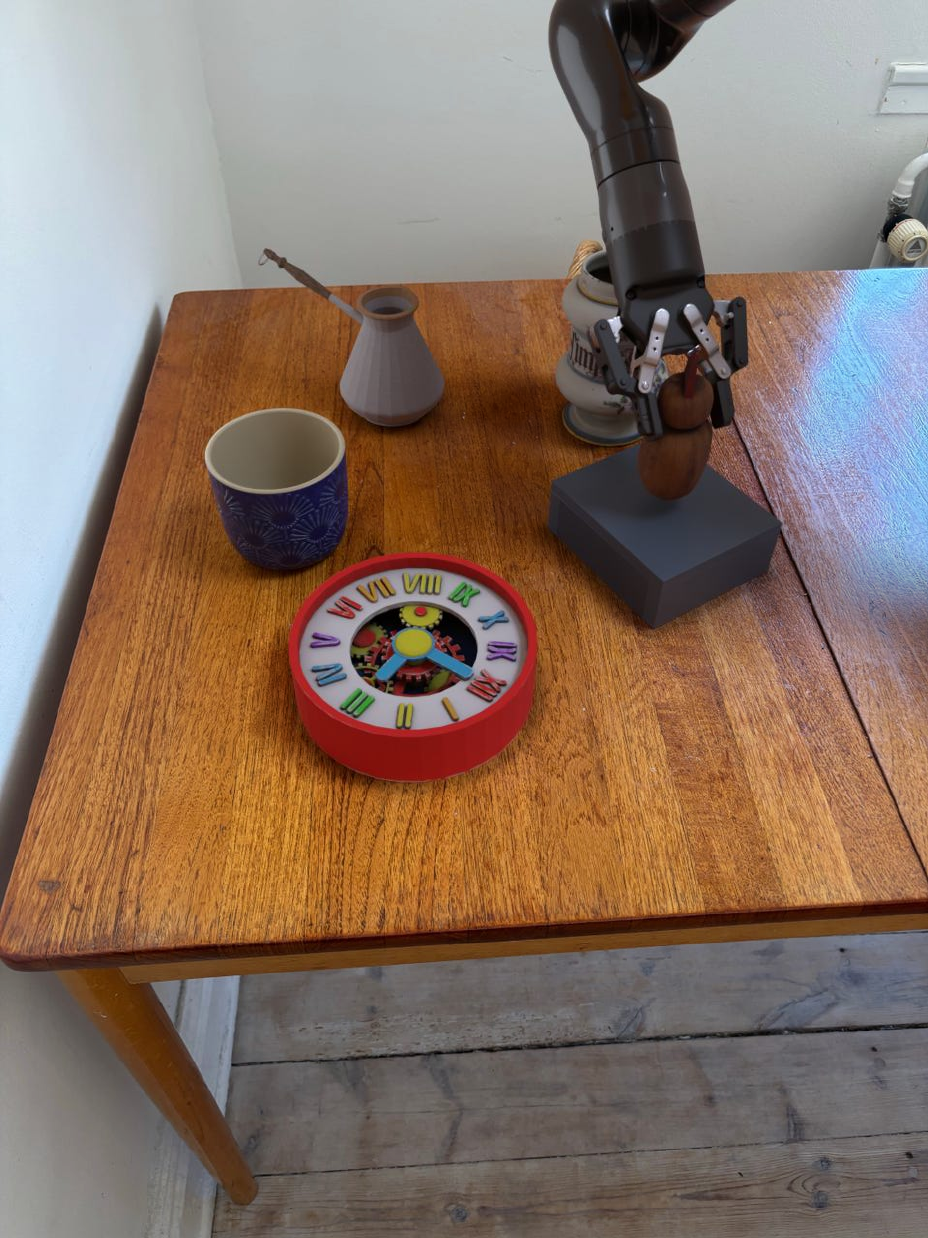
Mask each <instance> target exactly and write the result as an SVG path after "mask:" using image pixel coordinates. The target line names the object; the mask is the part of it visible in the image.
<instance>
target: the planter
mask: <svg viewBox="0 0 928 1238" xmlns="http://www.w3.org/2000/svg"><path fill="white" fill-rule="evenodd" d="M346 450H347V449H346V441H345V437H344V435H343V433H342V431H341V430H340V429H339V427H338V426H337V425H336V424H335V423H334V422H332V420H330V419H328V418H326V417H325V416H323V415H321V414H318V413H316V412H313V411H309V410H306V409H299V408H290V407H277V408H268V409H267V408H265V409H261V410H256V411H253V412H249V413H246V414H244V415H240V416H239V417H236V418H234V419H232V420H230V421H228V422H227V423H226V424H224V425H223V426H221V427H220V428H219V429H218V430H216V432H215V433H214V434H213V435H212V436H211V438H210V439H209V440H208V443H207V445H206V447H205V450H204V451H205V452H204V462H205V466H206V469H207V474H208V477H209V481H210V485H211V488H212V492H213V496H214V500H215V502H216V507H217V510H218V513H219V516H220V519H221V522H222V525H223V528H224V531H225V533H226V535H227V538H228V540H229V542H230V543H231V545H232V546H233V548H234V549H235V551H236V552H237V553H238V554H239V555H240V556H241V557H242V558H243V559H245V560H246V561H248V562H250V563H252V564H254V565H255V566H258V567H261V568H265V569H269V570H279V571H288V570H297V569H302V568H306V567H309V566H311V565H313V564H316V563H318V562H320V561H322V560H323V559H325V558H326V557H328V556H329V555H331V553H333V552H334V551H335V550H336V548H338V546H339V545H340V544H341V542H342V540H343V538H344V536H345V533H346V529H347V524H348V519H349V516H348V515H349V485H348V484H349V482H348V467H347V452H346Z"/></svg>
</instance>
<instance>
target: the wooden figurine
mask: <svg viewBox="0 0 928 1238" xmlns="http://www.w3.org/2000/svg"><path fill="white" fill-rule="evenodd" d="M698 358H699V353H697V348H695V349H694V352H693V353H691V355H689V357H688V359H687V361H686V364H685V365H684V370H683V371H680V372H676V373H673V374H671V375H670V377H668V378H667V379H666V380H665V381H664V382H663V384H662V386H661V388H660V390H659V393H658V397H657V405H658V410H659V415H660V420H661V425H662V430H663V437H662V438H661V439H659V440H656V441H651V442H647V441H646V440H645V436H643V438H641V441H640V443H641V445H640V449H639V453H638V459H637V466H638V473H639V477H640V480H641V482H642V485H643V486H644V488H645V489H646V491H647V492H649V493H650V494H652V495H653V496H655V497H657V498H659V499H662V500H675V499H680V498H683V497H684V496H686V495H688V494H689V493H690V492H691V491H692V490H693V489H694V488H695V486H696V485H697V483H698V481H699V479H700V477H701V475H702V473H703V471H704V469H705V467H706V464H708V462H709V459H710V454H711V450H712V442H713V426H712V422H711V420H710V419H709V418H710V412H711V409H712V405H713V400H714V396H713V389H712V386H711V384H710V382H709V381H708V380H707V379H706V378H704V377H703V376H702V375H701V374H700V373H697V372H698V369H697V365H698Z"/></svg>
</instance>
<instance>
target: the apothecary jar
mask: <svg viewBox="0 0 928 1238" xmlns="http://www.w3.org/2000/svg"><path fill="white" fill-rule="evenodd" d="M561 309H562V312H563V314H564V316H565V318H566V319H567V322H569V323H570V324H571V330H570V339H569V341H570V342H569V348H568V349H567V350H566V351H565V352H564V353H563V354H562V355H561V357H560V358H559V360H558V361H557V364H556V367H555V373H554V374H555V382H556V384H557V388H558V390H559V391H560V393H561V394H562V396H563V397H564V398H565V399H566V400H567V401H568V402H567V404H566V405H565V406H564V408H563V410H562V414H561V416H562V418H561V419H562V423H563V425H564V427H565V429H566V430H567V432H569V434H571V435H572V436H573V437H575V438H576V439H578V440H580V441H582V442H585V443H587V444H591V445H594V446H600V447H621V446H627V445H631V444H634V443H636V442H637V441H640V440H642V438H643V436H640V434H639V432H638V430H637V425H636V419H635V415H634V410H633V405H632V402H631V400H630V398H628V397H627V396H623V395H618V394H616V395H611V394H609V393H608V392H607V390H606V387H605V384H604V381H603V379H602V376H601V373H600V371H599V368H598V365H597V362H596V360H595V357H594V354H593V352H592V349H591V346H590V344H589V341H588V338H587V335H586V332H587V330H588V329H589V328H590V327H591V326H592V325H594V324H595V323H596V322H597V321H599V320H600V319H606V320H609V319H612V318H615V317H616V315H617V312H618V302H617V299H616V297H615V292H614V287H613V282H612V277H611V272H610V267H609V262H608V257H607V252H606V249H602V250H598V251H595V252H593V253H591V254H589V255H588V256H587V257H586V258H585V259H584V260H583V261H582V263H581V266H580V270H579V273H578V274H577V275H575V277H573V278H572V279H571V280H570V281H569V282H568V283H567V285H566V287H565V288H564V290H563V293H562V295H561ZM619 336H620V340H619V342H618V343H617V345H618V348H619V350H620V353H621V356H622V359H623V361H624V364H625V367H626V369H627V372H628V375H629V377H630V376H631V370H630V366H631V361H632V356H633V351H634V346H635V345H634V344H633V343H632V342H631V341H630V340H629V339H628V338H627V337H626V336H625V335H624V334H623V333H622V332H621V331H619ZM669 370H670V368H669V366H668V364H667V362H666V360H665V359H664V357H662V358H660V361H659V364H658V366H657V367H656V370H655V375H654V380H653V385H652V389H651V394H653V393H655V395H656V400H657V397H658V393H659V390H660V388H661V386H662V384H663V382H664V381H665V380H666V379H667V378H668V377H670V376H671V375H670V374H671V373H670V371H669Z"/></svg>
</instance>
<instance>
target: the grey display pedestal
mask: <svg viewBox="0 0 928 1238" xmlns="http://www.w3.org/2000/svg"><path fill="white" fill-rule="evenodd" d="M640 445H641V442H640V443H637V444H635V445H632V446H630V447H628V448H626V449H623V450H621V451H618V452H616V453H614V454H611V455H609V456H607V457H606V456H605V457H604V458H601V459H599V460H597V461H594V462H592V463H590V464H587V465H584V466H582V467H580V468H577V469H575V470H573V471H571V472H568V473H566V474H563V475H561V476H559V477H556V478H554V479H552V480H551V485H550V487H551V489H550V498H549V511H548V521H547V529H548V530H549V531H550V532H551V533H552V534H553V535H554V536H555V537H556V538H557V539H558V540H560V542H561V543H563V545H565V547H567V548H568V549H569V550H570V551H571V552H572V553H573V554H574V555H575V556H576V558H578V559H579V560H580V561H581V562H582V563H584V564H585V566H587V568H589V569H590V570H591V571H592V572H593V573H594V574H595V575H596V576H597V577H598V578H599V579H600V580H601V581H602V582H603V583H604V584H605V585H607V587H608V588H609V589H610V590H612V591H613V592H614V593H615V594H616V596H618V597H619V598H620V599H621V600H622V601H623V602H624V603H625V604H626V605H627V606H628V607H629V608H630V609H631V610H633V611H634V613H635V614H637V615H638V616H639V618H641V619H642V620H643V621H644V622H645V624H647V625H648V626H649V627H650V628H651V629H652V630H655V629H657V628H659V627H660V626H663V625H665V624H666V623H668V622H670V621H673V620H674V619H677V618H678V617H680V616H682V615H684V614H686V613H688V612H691V611H692V610H694V609H696V608H698V607H700V606H702V605H704V604H706V603H708V602H709V601H711V600H714V599H716V598H717V597H720V596H722V595H724V594H725V593H727V592H729V591H731V590H733V589H735V588H737V587H739V586H741V585H743V584H745V583H747V582H749V581H751V580H753V579H755V578H757V577H758V576H760V575H763V574H765V573H766V572H768V571H769V569H770V565H771V562H772V559H773V556H774V553H775V549H776V546H777V543H778V539H779V537H780V533H781V530H782V526H783V521H781V520H780V519H778V518H777V517H776V516H775V515H773V514H772V513H771V512H769V511H768V510H767V509H765V508H764V507H763V506H762V505H760V504H759V503H758V502H756V500H754V499H753V498H751V497H750V495H749V496H748V494H746V493H745V492H744V491H742V490H741V489H740V488H738V487H737V486H736V485H735V484H734V483H732V482H731V481H730V480H728V479H727V478H726V477H724V476H723V475H722V474H720V473H719V472H718V471H717V470H715V469H714V468H713V467H712V466H710V465H709V464H708V463H707V464H706V467H705V469H704V471H703V473H702V475H701V477H700V479H699V481H698V483H697V485H696V486H695V488H694V489H693V490H692V491H691V492H690V493H689V494H688V495H686V496H684V497H683V498H680V499H675V500H662V499H659V498H657V497H655V496H653V495H652V494H650V493H649V492H647V491H646V489H645V488H644V486H643V485H642V482H641V480H640V477H639V473H638V466H637V459H638V453H639V449H640Z"/></svg>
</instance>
